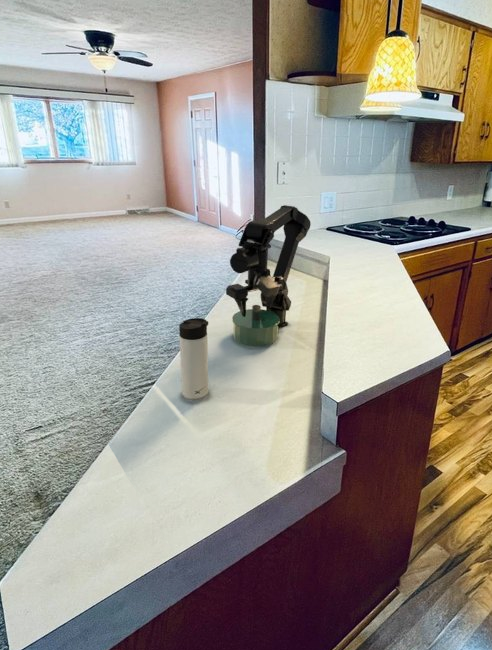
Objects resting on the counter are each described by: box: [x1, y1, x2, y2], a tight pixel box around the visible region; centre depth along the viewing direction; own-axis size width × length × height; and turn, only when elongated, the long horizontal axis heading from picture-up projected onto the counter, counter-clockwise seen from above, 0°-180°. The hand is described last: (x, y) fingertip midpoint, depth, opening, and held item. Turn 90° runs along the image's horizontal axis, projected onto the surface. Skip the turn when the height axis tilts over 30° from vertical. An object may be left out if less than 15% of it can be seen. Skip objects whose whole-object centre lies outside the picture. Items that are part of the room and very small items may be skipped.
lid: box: [231, 304, 280, 330], centre depth 127 cm, size 15×15×5 cm
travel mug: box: [178, 317, 209, 402], centre depth 96 cm, size 6×7×20 cm
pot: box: [232, 322, 279, 348], centre depth 129 cm, size 14×14×6 cm
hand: (256, 313), depth 127 cm, fingers open, 9 cm apart
